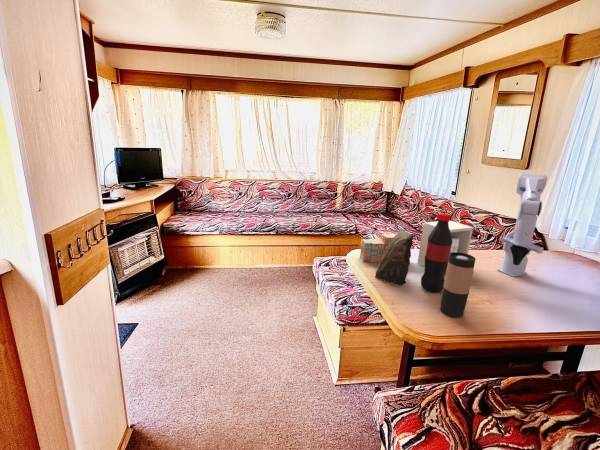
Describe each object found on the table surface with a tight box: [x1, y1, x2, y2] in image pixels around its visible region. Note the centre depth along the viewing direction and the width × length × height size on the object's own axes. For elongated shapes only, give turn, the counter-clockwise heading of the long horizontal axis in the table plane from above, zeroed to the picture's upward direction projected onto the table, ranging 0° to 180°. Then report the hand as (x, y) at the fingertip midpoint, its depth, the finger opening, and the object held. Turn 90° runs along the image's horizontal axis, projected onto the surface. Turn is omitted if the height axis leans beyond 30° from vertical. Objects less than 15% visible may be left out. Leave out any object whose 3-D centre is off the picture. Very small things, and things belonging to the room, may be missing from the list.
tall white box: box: [417, 220, 474, 268], centre depth 144 cm, size 16×12×20 cm
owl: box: [374, 228, 415, 286], centre depth 128 cm, size 13×13×20 cm
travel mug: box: [439, 252, 476, 319], centre depth 104 cm, size 8×8×20 cm
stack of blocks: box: [359, 233, 397, 263], centre depth 149 cm, size 21×6×12 cm, turn 93°
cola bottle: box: [420, 212, 453, 294], centre depth 119 cm, size 8×8×30 cm
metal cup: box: [450, 235, 459, 253], centre depth 142 cm, size 7×7×15 cm
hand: (516, 264), depth 125 cm, fingers closed
